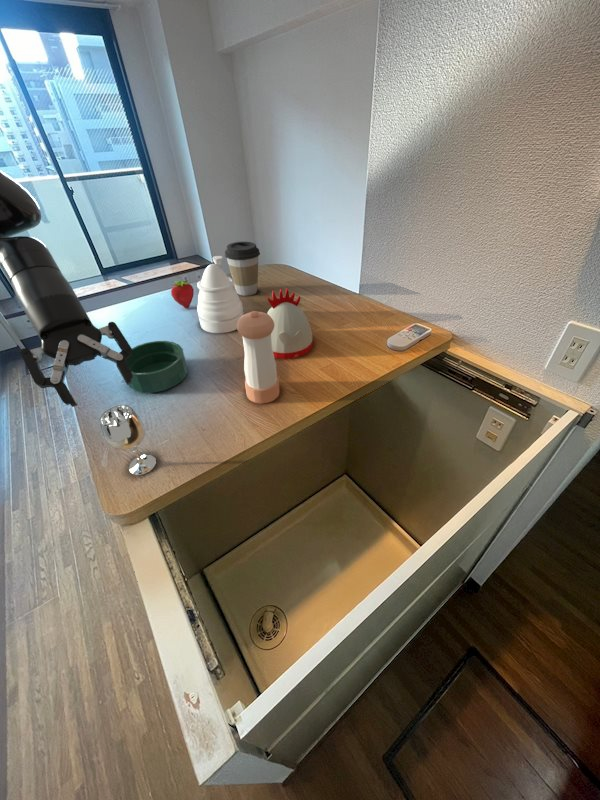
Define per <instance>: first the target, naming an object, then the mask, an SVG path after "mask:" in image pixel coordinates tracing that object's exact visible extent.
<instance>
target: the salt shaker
mask: <svg viewBox="0 0 600 800" xmlns="http://www.w3.org/2000/svg"><path fill="white" fill-rule="evenodd" d="M273 329H274V321H273V319H272V318H271V317H270V316H269V315H268V314H267V312H264V311H256V310H252V311H250V312H247V313H244V315H242V316H241V317H240V318H239V320H238V322H237V329H236V330H237V332H238V333H239V335H240V336H241V337H242V344H243V352H244V362H243V371H244V376H245V378H244V387H245V394H246V397H247V399H248V400H250V401H251V402H252V403H255V404H269V403H271V402H273V401H275V400H276V399H277V398H278V397H279V396H280V382H279V380H280V379H279V377H278V375H277V362H276V358H275V357H274V354H273V351H272V342H271V333H272V331H273Z"/></svg>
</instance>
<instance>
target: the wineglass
mask: <svg viewBox="0 0 600 800" xmlns="http://www.w3.org/2000/svg"><path fill="white" fill-rule="evenodd" d="M99 424H100V429H101V432H102V435H103V437H104V439H105V441H106V443H107V444H108V445H109V446H110V447H111V448H113V449H115V450H118V451H128V450H130V451H132V453H134V455H135V456H136V457H135V458H134V459H132V461H131V462H130V463H129V465H128V471H129V473H130V474H132V475H134V476H143V475H145V474H148V473H150V472H151V471H152V470H153V469H154V468H155V466H156V464H157V459H156V457H155V456H154V455H152V454H141V455H140V454H139V449H138V446H139V445H140V444H141V443H142V442H143V440H144V439H145V437H146V427H145V424H144V422H143V419H142V418H141V417H140V416H139V414H138V413H137V412H136V411H135V410H134V409H133V408H132V407H130V406H129V405H123V404H121V405H116V406H113V407H111V408H109V409H107V410H106V411H105V412H103V413H102V414H101V416H100V418H99Z"/></svg>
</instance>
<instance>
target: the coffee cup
mask: <svg viewBox="0 0 600 800" xmlns="http://www.w3.org/2000/svg"><path fill="white" fill-rule="evenodd" d="M260 255H261V252H260V249H259V248H258V247H257V244H256V243H255V242H252V241H234V242H231V243H229V244H228V245H226V249H225V250H224V257H225V258H226V260H227V264H228V267H229V271H230V275H231V278H232V279H233V280H234V285H233V287H234V289H235V290H236V292H237V295H238V296H243V297H249V296H252V295H256V293H258V285H259V284H258V283H259V256H260Z"/></svg>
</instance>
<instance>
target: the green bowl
mask: <svg viewBox="0 0 600 800" xmlns="http://www.w3.org/2000/svg"><path fill="white" fill-rule="evenodd" d="M131 348H132V356H131V357H129V358H127V359H126V361H125V362H126V364H127V366H128V367H129V369H130V371H131V373H132V376H133V379H132V380H131V384H129V385H127V386H128V388H129V389H131V390H132V391H135V392H138V393H143V394H147V393H148V394H150V393H158V392H163V391H166V390H169V389H171V388H173V387H175V386H177V385H178V384H180V383H181V382H183V380H184V379H185V378H186V377H187V375H188V372H189V365H188V363H187V360H186V356H185V352H184V348H182V346H181V345H180V344H179V343H176V342H174V341H168V340H154V341H149V342H144V343H142V344H138V345H136V346H134V347H131Z"/></svg>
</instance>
